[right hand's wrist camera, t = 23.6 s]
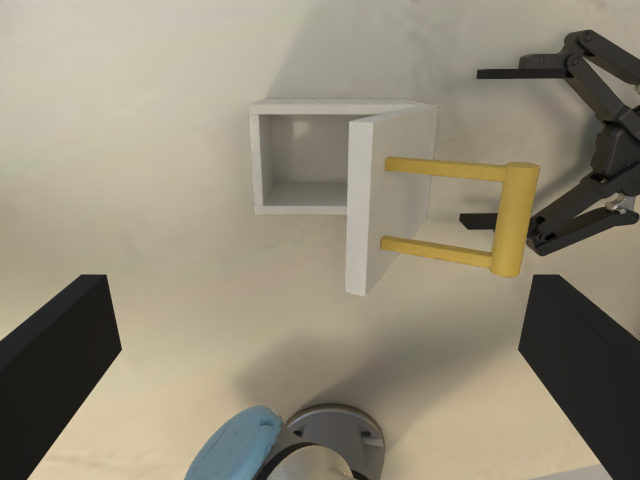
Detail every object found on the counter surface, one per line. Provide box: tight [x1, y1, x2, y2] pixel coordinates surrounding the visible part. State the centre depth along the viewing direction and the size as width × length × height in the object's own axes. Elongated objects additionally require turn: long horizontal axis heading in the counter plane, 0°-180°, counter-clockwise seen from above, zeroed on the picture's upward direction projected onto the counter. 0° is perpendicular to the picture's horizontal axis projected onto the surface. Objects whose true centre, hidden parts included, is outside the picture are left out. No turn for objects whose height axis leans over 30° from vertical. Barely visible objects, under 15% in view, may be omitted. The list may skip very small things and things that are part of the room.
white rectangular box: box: [345, 105, 540, 297], centre depth 27 cm, size 16×10×9 cm
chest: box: [248, 99, 428, 215], centre depth 40 cm, size 15×10×10 cm, turn 90°
